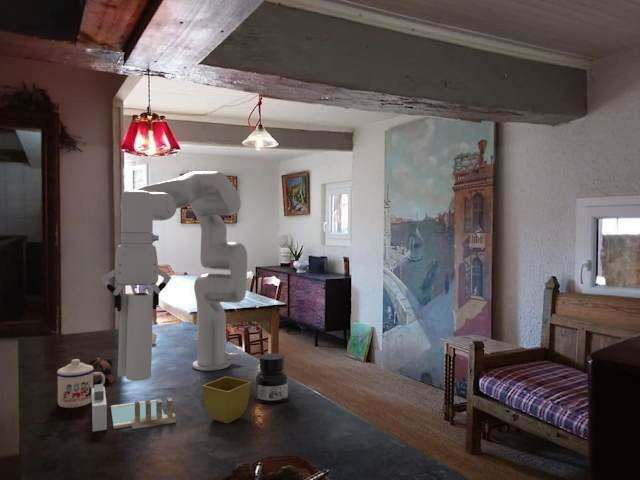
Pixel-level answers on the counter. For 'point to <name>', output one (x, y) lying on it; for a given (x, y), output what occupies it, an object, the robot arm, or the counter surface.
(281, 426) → the counter surface
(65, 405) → the teacup with lid
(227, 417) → the flower pot
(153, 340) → the elephant figurine
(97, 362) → the pottery mug
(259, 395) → the ink bottle
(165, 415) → the cable comb
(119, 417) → the pad
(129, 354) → the paper towel roll
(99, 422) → the block
